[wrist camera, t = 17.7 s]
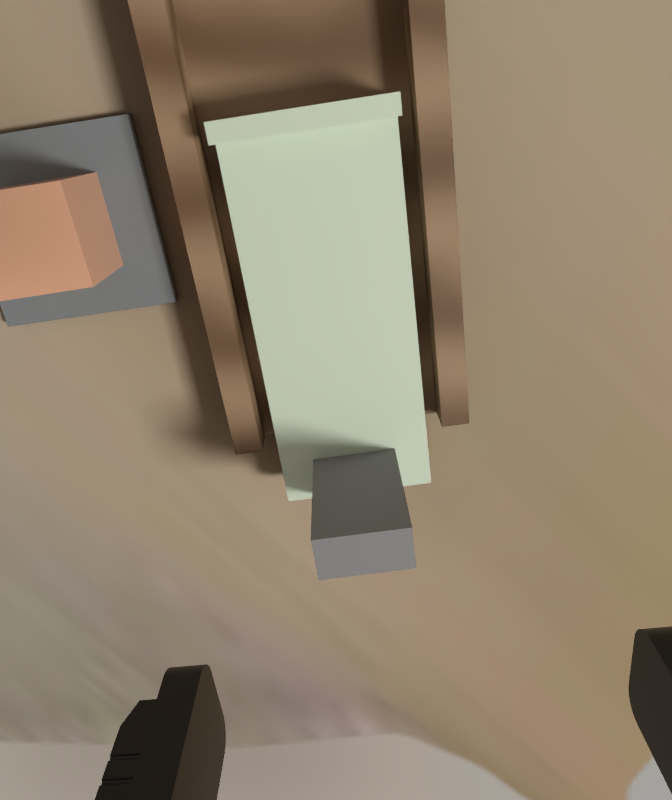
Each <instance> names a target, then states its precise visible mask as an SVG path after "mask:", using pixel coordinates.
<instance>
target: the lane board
mask: <svg viewBox="0 0 672 800" xmlns="http://www.w3.org/2000/svg"><path fill="white" fill-rule="evenodd" d="M127 1H128V5H129V9H130V13H131V18H132V22H133V26H134V30H135V34H136V39H137V43H138V47H139V51H140V55H141V60H142V64H143V68H144V72H145V76H146V81H147V85H148V89H149V93H150V97H151V101H152V106H153V110H154V114H155V118H156V122H157V127H158V131H159V135H160V139H161V143H162V148H163V152H164V156H165V160H166V164H167V169H168V173H169V177H170V181H171V185H172V190H173V194H174V198H175V202H176V206H177V210H178V215H179V219H180V223H181V227H182V231H183V236H184V240H185V244H186V248H187V252H188V257H189V261H190V265H191V269H192V273H193V278H194V282H195V286H196V290H197V294H198V299H199V303H200V307H201V311H202V315H203V319H204V324H205V328H206V332H207V336H208V340H209V345H210V349H211V353H212V357H213V361H214V366H215V370H216V374H217V378H218V382H219V387H220V391H221V395H222V399H223V403H224V408H225V412H226V416H227V420H228V424H229V428H230V433H231V437H232V441H233V445H234V449H235V454H243V453H250V452H258V451H262V448H263V443H264V438H265V435H272V434H275V432H274V427H273V422H272V417H271V413H270V408H269V403H268V398H267V393H266V388H265V383H264V378H263V374H262V369H261V364H260V359H259V354H258V349H257V344H256V339H255V335H254V330H253V325H252V320H251V315H250V310H249V305H248V301H247V296H246V291H245V286H244V281H243V276H242V271H241V266H240V262H239V257H238V252H237V247H236V242H235V237H234V232H233V227H232V223H231V218H230V213H229V208H228V203H227V198H226V193H225V189H224V184H223V179H222V174H221V169H220V164H219V159H218V154H217V150H216V145H209V146H208V141H207V136H206V131H205V127H204V122H208V121H214V120H220V119H227V118H233V117H239V116H246V115H252V114H259V113H265V112H271V111H278V110H284V109H291V108H297V107H303V106H310V105H316V104H322V103H329V102H335V101H342V100H348V99H354V98H361V97H367V96H374V95H380V94H386V93H393V92H399V91H400V93H401V104H402V116H398V125H399V136H400V147H401V157H402V168H403V179H404V190H405V201H406V212H407V223H408V234H409V245H410V256H411V267H412V278H413V289H414V300H415V311H416V322H417V333H418V344H419V355H420V366H421V377H422V388H423V399H424V410H425V414H427V413H435V412H437V415H438V417H439V420H440V422H441V425H442V427H445V426H452V425H459V424H467V423H469V411H468V394H467V377H466V360H465V343H464V326H463V309H462V291H461V274H460V257H459V240H458V223H457V206H456V189H455V172H454V155H453V138H452V121H451V104H450V87H449V70H448V53H447V36H446V19H445V2H444V0H127Z"/></svg>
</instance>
